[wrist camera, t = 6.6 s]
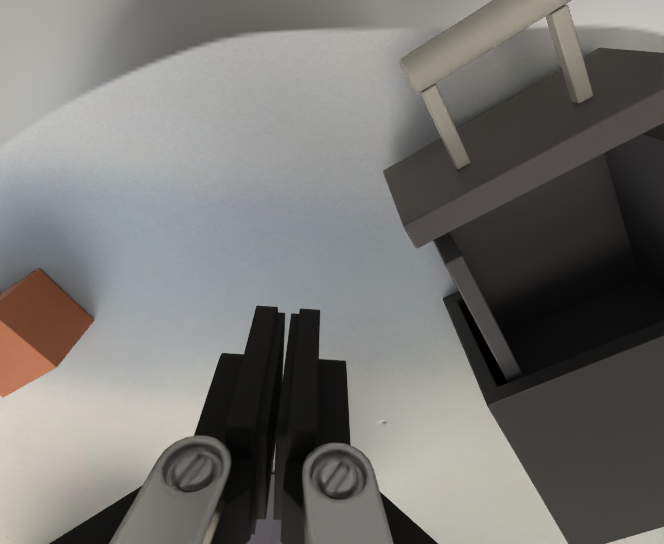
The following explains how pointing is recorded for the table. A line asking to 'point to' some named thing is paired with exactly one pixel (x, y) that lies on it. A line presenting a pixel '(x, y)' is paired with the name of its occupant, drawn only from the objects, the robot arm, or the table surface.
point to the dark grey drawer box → (584, 429)
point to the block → (36, 330)
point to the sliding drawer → (543, 191)
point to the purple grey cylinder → (268, 523)
